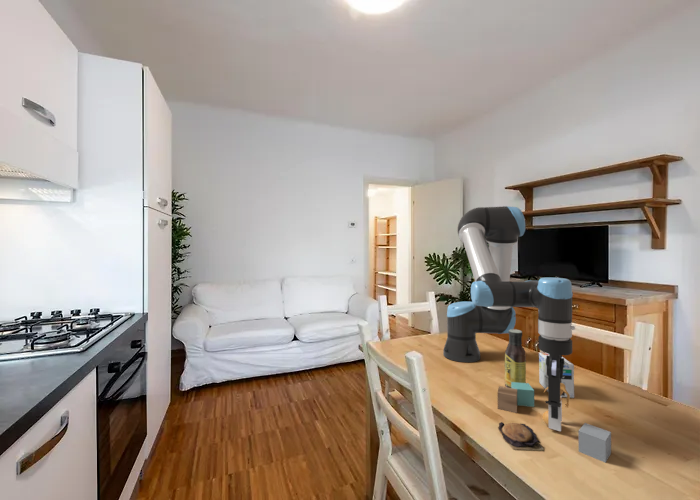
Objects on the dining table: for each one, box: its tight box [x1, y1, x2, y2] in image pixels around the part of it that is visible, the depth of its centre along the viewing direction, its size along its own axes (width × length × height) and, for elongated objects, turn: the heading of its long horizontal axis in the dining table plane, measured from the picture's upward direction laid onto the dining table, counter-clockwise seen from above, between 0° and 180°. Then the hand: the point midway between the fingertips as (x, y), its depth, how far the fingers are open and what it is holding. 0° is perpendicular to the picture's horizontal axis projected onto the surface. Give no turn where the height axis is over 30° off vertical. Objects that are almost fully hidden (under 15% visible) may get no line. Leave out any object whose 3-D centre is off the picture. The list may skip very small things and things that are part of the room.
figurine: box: [542, 383, 570, 427], centre depth 84 cm, size 8×6×12 cm
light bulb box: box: [538, 352, 575, 399], centre depth 104 cm, size 11×7×11 cm, turn 168°
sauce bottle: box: [504, 328, 527, 388], centre depth 105 cm, size 7×6×20 cm
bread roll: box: [497, 421, 545, 452], centre depth 79 cm, size 11×8×4 cm
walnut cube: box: [497, 385, 518, 414], centre depth 94 cm, size 5×5×5 cm
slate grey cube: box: [578, 422, 612, 463], centre depth 73 cm, size 5×5×5 cm
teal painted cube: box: [511, 382, 535, 408], centre depth 97 cm, size 5×5×5 cm
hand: (555, 423), depth 83 cm, fingers closed on figurine, 5 cm apart
